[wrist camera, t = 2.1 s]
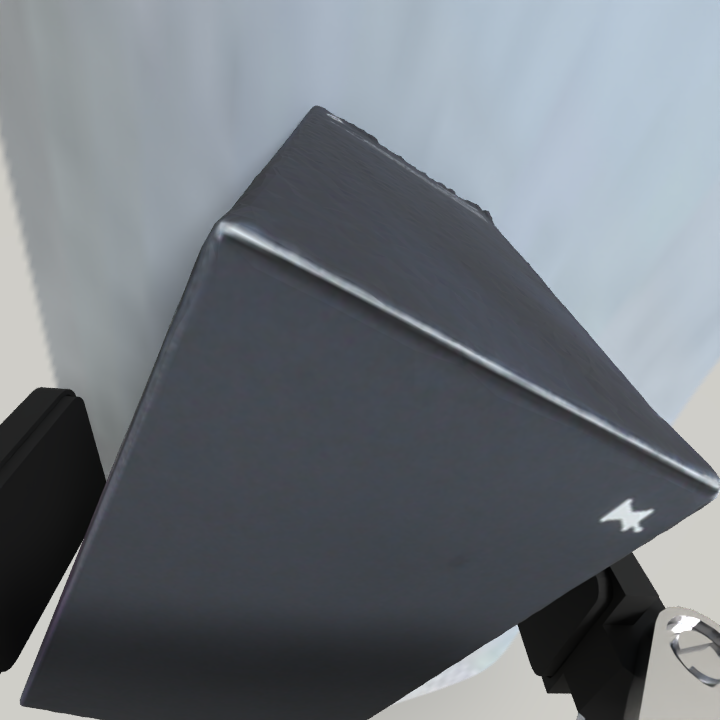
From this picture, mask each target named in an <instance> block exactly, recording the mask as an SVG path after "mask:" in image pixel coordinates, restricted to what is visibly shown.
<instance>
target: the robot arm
mask: <svg viewBox="0 0 720 720" xmlns="http://www.w3.org/2000/svg"><path fill="white" fill-rule="evenodd" d="M105 485H106V479H105V475H104V472H103V468H102V465H101V461H100V457H99V454H98V450H97V447H96V443H95V440H94V436H93V433H92V429H91V425H90V422H89V418H88V415H87V411H86V408H85V404H84V401H83V399H82V398H81V397H76V395H75V393H74V392H73V391H72V390H70V389H58V388H43V387H40V388H37V389H35V390H34V391H33V392H32V393H31V394H30V395H29V396H28V397H27V398H26V399H25V400H24V401H23V402H22V403H21V404H20V405H19V406H18V407H17V408H16V409H15V410H14V411H13V412H12V414H10V415H9V416H8V417H7V418H6V420H5V421H4V422H3V423H2V424H1V425H0V673H1V672H5V671H7V670H8V669H10V668H11V667H12V666H13V665H14V663H15V662H16V660H17V659H18V657H19V655H20V653H21V651H22V650H23V648H24V646H25V644H26V642H27V640H28V639H29V637H30V635H31V633H32V631H33V629H34V628H35V626H36V624H37V622H38V621H39V619H40V617H41V615H42V613H43V612H44V610H45V608H46V606H47V604H48V603H49V601H50V599H51V597H52V595H53V593H54V591H55V590H56V588H57V586H58V584H59V582H60V581H61V579H62V577H63V575H64V573H65V572H66V570H67V568H68V566H69V564H70V563H71V561H72V559H73V557H74V555H75V553H76V552H77V550H78V548H79V546H80V545H81V543H82V541H83V539H84V537H85V535H86V532H87V530H88V527H89V525H90V522H91V520H92V517H93V515H94V512H95V510H96V507H97V505H98V502H99V500H100V497H101V495H102V492H103V490H104V487H105ZM518 627H519V631H520V634H521V636H522V640H523V643H524V646H525V649H526V652H527V655H528V658H529V661H530V664H531V667H532V669H533V671H534V672H535V674H536V675H538V676H542V679H543V682H544V685H545V688H546V691H547V693H571V694H572V697H573V699H574V702H575V705H576V708H577V710H578V716H577V720H720V625H718V624H717V623H715V622H714V621H713V620H711V619H710V618H708V617H706V616H704V615H702V614H700V613H698V612H696V611H694V610H691V609H687V608H683V607H668V608H665V607H664V605H663V603H662V602H661V600H660V599H659V595H658V594H657V592H656V590H655V589H654V587H653V586H652V584H651V582H650V581H649V579H648V577H647V576H646V574H645V573H644V571H643V569H642V568H641V566H640V564H639V563H638V561H637V559H636V558H635V556H634V555H633V553H632V552H631V553H630V554H628V555H627V556H625V557H624V558H622V559H620V560H619V561H617V562H616V563H614V564H612V565H611V566H609V567H607V568H606V569H604V570H603V571H601V572H600V573H598V574H596V575H595V576H593V577H591V578H590V579H588V580H586V581H585V582H583V583H582V584H580V585H578V586H577V587H575V588H573V589H572V590H570V591H568V592H567V593H565V594H564V595H562V596H561V597H559V598H558V599H556V600H555V601H553V602H552V603H550V604H549V605H547V606H546V607H544V608H543V609H541V610H540V611H538V612H536V613H534V614H533V615H531V616H530V617H528V618H527V619H526V620H524V621H522V622H521V623H519V624H518Z"/></svg>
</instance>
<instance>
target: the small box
mask: <svg viewBox="0 0 720 720" xmlns="http://www.w3.org/2000/svg"><path fill="white" fill-rule="evenodd" d="M719 491H720V478H719V477H718V476H717V474H716V472H715V471H714V470H713V469H712V467H711V466H710V465H709V464H708V463H707V462H706V461H705V460H704V459H703V458H702V457H701V456H700V455H699V454H698V453H697V452H696V451H695V450H694V449H693V448H692V447H691V446H690V445H689V444H688V443H687V442H686V441H685V440H684V439H683V438H682V437H681V436H680V435H679V434H678V433H677V432H676V431H675V430H674V429H673V428H672V427H671V426H670V425H669V424H668V423H667V422H666V421H665V420H664V419H662V418H661V417H660V416H659V415H658V414H657V413H656V412H655V411H654V410H653V409H652V408H651V407H650V406H649V404H648V403H647V402H646V401H645V399H644V398H643V397H642V396H641V394H640V393H639V392H638V391H637V390H636V389H635V388H634V386H633V385H632V384H631V383H630V382H629V381H628V380H627V378H626V377H625V376H624V375H623V373H622V372H621V371H620V370H619V369H618V368H617V367H616V366H615V365H614V363H613V362H612V361H611V360H610V359H609V357H608V356H607V355H606V354H605V353H604V351H603V350H602V349H601V348H600V347H599V346H598V345H597V343H596V342H595V341H594V340H593V339H592V338H591V336H590V335H589V334H588V332H587V331H586V330H585V329H584V328H583V327H582V326H581V325H580V324H579V323H578V321H577V320H576V319H575V318H574V317H573V315H572V314H571V313H570V312H569V311H568V310H567V308H566V307H565V306H564V305H563V304H562V303H561V302H560V301H559V299H558V298H557V297H556V296H555V295H554V294H553V292H552V291H551V290H550V288H548V287H547V285H546V284H545V283H544V281H543V280H542V279H541V278H540V276H539V275H538V274H537V273H536V272H535V271H534V270H533V269H532V267H531V266H530V264H529V263H528V262H526V261H525V259H524V258H523V257H522V256H521V255H520V254H519V253H518V252H517V251H516V250H515V249H514V247H513V246H512V245H511V244H510V243H509V242H508V240H507V239H506V238H505V237H504V236H503V235H502V234H501V233H500V231H499V230H498V229H497V228H496V227H495V226H494V223H493V221H492V217H491V216H490V213H489V211H486V210H483V211H482V209H481V208H480V207H479V206H478V205H477V204H474V203H472V202H470V201H468V200H463V199H461V198H460V197H458V196H457V195H456V194H455V192H454V191H453V190H452V189H447V188H446V187H445V185H443V184H442V183H438V182H436V181H434V180H433V179H431V178H429V177H428V176H427V175H426V173H423V172H420V171H419V170H417V169H416V168H415V167H414V166H412V165H410V164H409V163H407V162H406V161H405V160H404V159H403V158H402V157H401V156H398V155H396V154H394V153H392V152H391V151H389V150H388V149H387V148H386V147H383V146H381V145H380V144H379V143H378V141H377V139H376V138H375V137H374V136H372V135H370V134H367V133H366V132H365V131H364V130H362V129H360V128H357V127H356V126H355V125H354V124H351V123H348V122H347V121H345V120H344V119H341V118H338V117H336V116H335V115H333V114H332V113H330V112H329V111H327V110H326V109H325V108H323V107H320V106H314V107H312V109H311V110H310V111H309V113H308V114H307V115H306V116H305V117H304V119H303V120H302V121H301V123H300V124H299V125H298V126H297V128H296V129H295V130H294V132H293V133H292V134H291V136H290V137H289V138H288V139H287V141H286V142H285V143H284V144H283V146H282V147H281V148H280V149H279V151H278V152H277V153H276V154H275V156H274V157H273V158H272V159H271V161H270V162H269V163H268V164H267V165H266V167H265V168H264V169H263V170H262V171H261V173H259V174H258V175H257V176H256V177H255V179H254V180H253V182H252V183H251V185H250V186H249V187H248V188H247V190H246V191H245V192H244V194H243V195H242V196H241V197H240V198H239V200H238V201H237V202H236V203H235V205H234V206H233V207H232V209H231V210H230V211H229V212H228V213H226V214H225V215H224V216H223V217H222V218H221V219H220V220H219V221H217V222H216V223H215V225H214V226H213V228H212V230H211V232H210V234H209V235H208V237H207V239H206V241H205V242H204V244H203V246H202V248H201V250H200V253H199V255H198V257H197V260H196V262H195V265H194V267H193V270H192V272H191V275H190V278H189V281H188V283H187V286H186V288H185V291H184V293H183V296H182V298H181V300H180V302H179V305H178V307H177V309H176V311H175V314H174V316H173V319H172V322H171V324H170V327H169V329H168V332H167V334H166V337H165V340H164V342H163V345H162V347H161V350H160V352H159V355H158V357H157V360H156V362H155V365H154V367H153V369H152V372H151V374H150V377H149V379H148V382H147V384H146V387H145V389H144V392H143V394H142V397H141V399H140V401H139V404H138V406H137V409H136V411H135V414H134V416H133V419H132V421H131V423H130V426H129V428H128V431H127V433H126V435H125V438H124V440H123V442H122V445H121V447H120V450H119V452H118V454H117V457H116V459H115V462H114V464H113V467H112V469H111V472H110V474H109V477H108V479H107V482H106V485H105V487H104V490H103V492H102V495H101V497H100V500H99V502H98V505H97V507H96V510H95V512H94V515H93V517H92V520H91V522H90V525H89V527H88V530H87V532H86V535H85V537H84V540H83V542H82V545H81V547H80V550H79V552H78V555H77V557H76V560H75V562H74V565H73V567H72V570H71V572H70V575H69V577H68V580H67V582H66V585H65V587H64V590H63V592H62V595H61V597H60V600H59V602H58V605H57V607H56V610H55V612H54V614H53V617H52V619H51V622H50V625H49V627H48V630H47V632H46V635H45V637H44V639H43V642H42V644H41V647H40V650H39V652H38V655H37V657H36V660H35V662H34V665H33V667H32V670H31V672H30V675H29V677H28V680H27V683H26V685H25V688H24V691H23V693H22V696H21V699H20V705H22V706H24V707H30V708H37V709H43V710H49V711H52V712H58V713H66V714H71V715H76V716H81V717H89V718H95V719H100V720H367V719H369V718H371V717H373V716H374V715H376V714H377V713H379V712H381V711H382V710H384V709H385V708H387V707H388V706H390V705H392V704H393V703H395V702H396V701H398V700H400V699H401V698H403V697H404V696H405V695H407V694H408V693H410V692H412V691H413V690H415V689H417V688H418V687H420V686H421V685H423V684H424V683H426V682H427V681H429V680H430V679H432V678H434V677H436V676H437V675H439V674H440V673H442V672H443V671H444V670H446V669H447V668H449V667H451V666H452V665H454V664H456V663H458V662H459V661H461V660H462V659H464V658H465V657H467V656H468V655H470V654H471V653H473V652H474V651H476V650H477V649H479V648H480V647H482V646H483V645H485V644H487V643H488V642H490V641H492V640H493V639H495V638H497V637H498V636H500V635H502V634H503V633H504V632H506V631H507V630H509V629H511V628H512V627H514V626H515V625H517V624H519V623H521V622H522V621H524V620H526V619H527V618H528V617H530V616H531V615H533V614H534V613H536V612H538V611H540V610H541V609H543V608H544V607H546V606H547V605H549V604H550V603H552V602H553V601H555V600H556V599H558V598H559V597H561V596H562V595H564V594H565V593H567V592H568V591H570V590H572V589H573V588H575V587H577V586H578V585H580V584H582V583H583V582H585V581H586V580H588V579H590V578H591V577H593V576H595V575H596V574H598V573H600V572H601V571H603V570H604V569H606V568H607V567H609V566H611V565H612V564H614V563H616V562H617V561H619V560H620V559H622V558H624V557H625V556H627V555H628V554H630V553H631V552H633V551H634V550H636V549H637V548H639V547H640V546H642V545H644V544H646V543H647V542H649V541H651V540H652V539H653V538H655V537H656V536H657V535H659V534H661V533H663V532H665V531H667V530H668V529H670V528H672V527H673V526H675V525H676V524H678V523H679V522H681V521H682V520H683V519H685V518H686V517H688V516H690V515H691V514H693V513H695V512H696V511H698V510H700V509H701V508H703V507H704V506H706V505H707V504H708V503H710V502H711V501H713V500H714V499H715V498H717V496H718V494H719Z"/></svg>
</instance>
